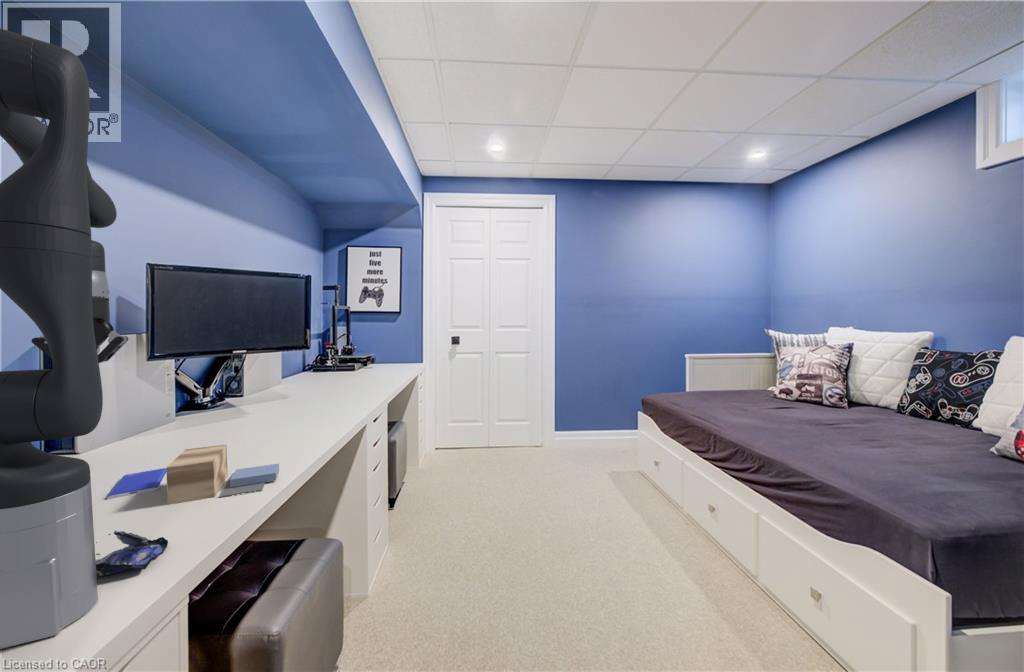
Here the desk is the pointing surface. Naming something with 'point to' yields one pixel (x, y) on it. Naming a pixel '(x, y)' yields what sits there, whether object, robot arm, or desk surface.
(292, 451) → the desk surface
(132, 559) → the snack package
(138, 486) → the hard drive
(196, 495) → the oak step
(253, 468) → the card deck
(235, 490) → the rubber mat
